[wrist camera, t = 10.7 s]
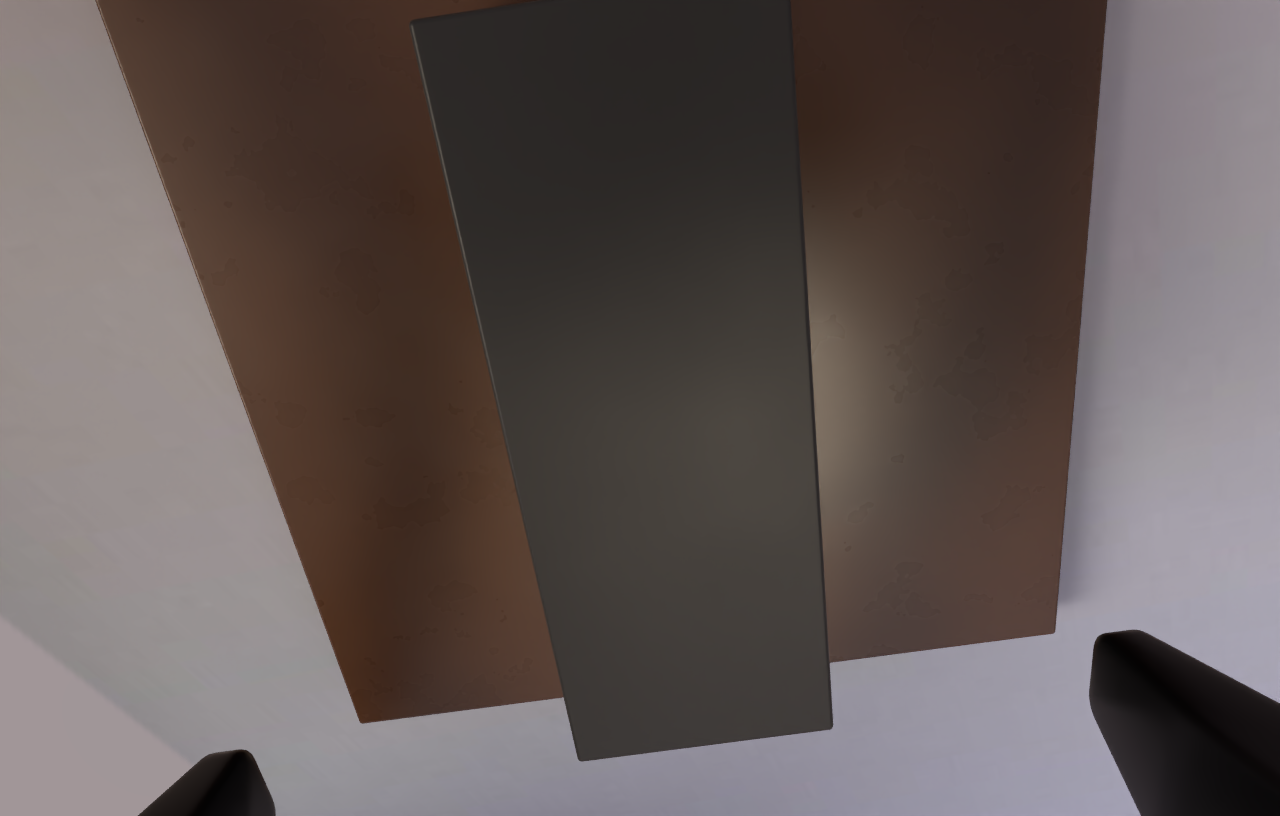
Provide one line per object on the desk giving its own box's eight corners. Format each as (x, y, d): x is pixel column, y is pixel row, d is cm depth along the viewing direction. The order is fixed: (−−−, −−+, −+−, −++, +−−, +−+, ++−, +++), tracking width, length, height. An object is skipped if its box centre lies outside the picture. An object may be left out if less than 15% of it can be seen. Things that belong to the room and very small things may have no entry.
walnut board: (369, 697, 23) (359, 725, 23) (58, -179, 15) (23, -191, 14) (1038, 609, 23) (1056, 634, 22) (1106, -347, 15) (1140, -372, 14)
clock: (780, 537, 21) (842, 729, 15) (586, 563, 21) (577, 764, 15) (734, -25, 15) (802, -41, 10) (476, 14, 16) (406, 20, 10)
